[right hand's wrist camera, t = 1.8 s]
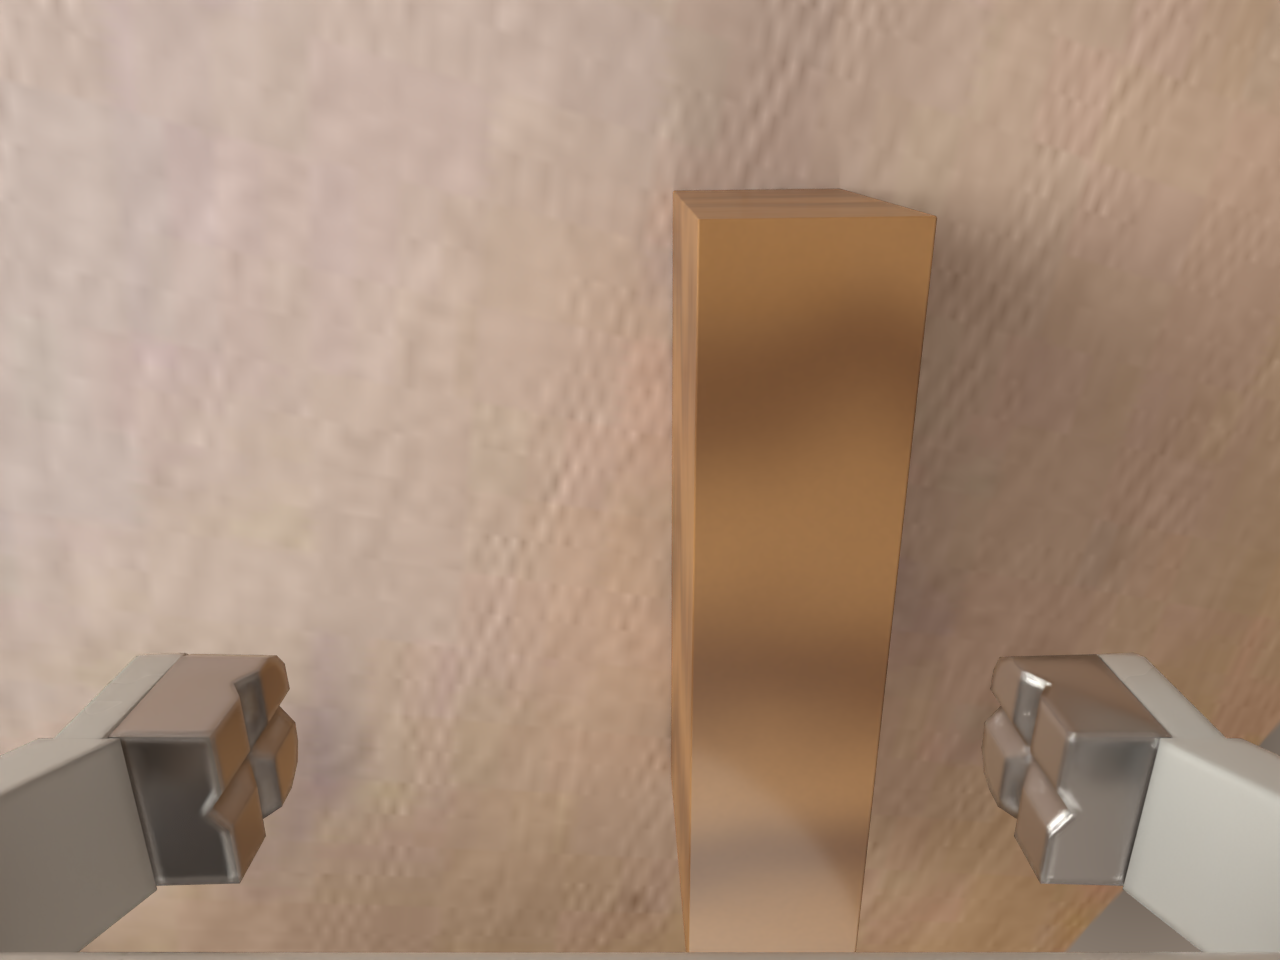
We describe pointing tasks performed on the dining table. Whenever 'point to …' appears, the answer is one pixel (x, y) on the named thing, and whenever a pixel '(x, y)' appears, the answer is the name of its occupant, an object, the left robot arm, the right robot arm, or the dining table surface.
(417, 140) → the dining table surface
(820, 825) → the bar
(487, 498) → the dining table surface
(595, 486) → the dining table surface
